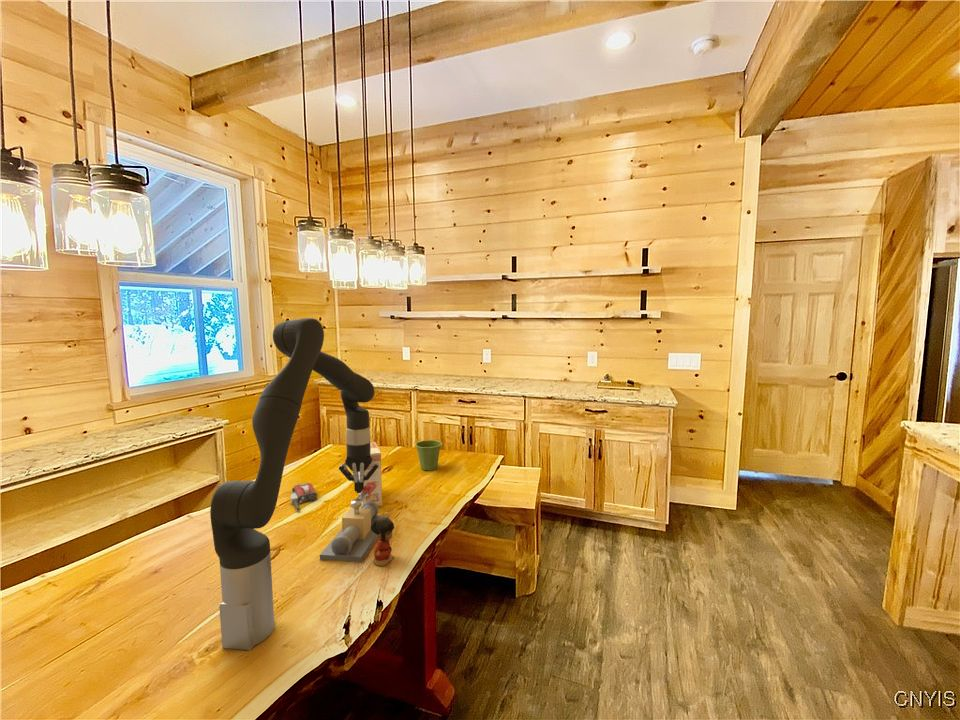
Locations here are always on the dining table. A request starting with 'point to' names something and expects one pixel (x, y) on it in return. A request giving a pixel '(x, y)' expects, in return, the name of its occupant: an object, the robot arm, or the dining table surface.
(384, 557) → the figurine
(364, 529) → the valve stand
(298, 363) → the robot arm
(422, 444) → the plant pot
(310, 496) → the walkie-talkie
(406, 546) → the dining table surface
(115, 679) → the dining table surface
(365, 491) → the lever
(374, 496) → the coffeecake box
